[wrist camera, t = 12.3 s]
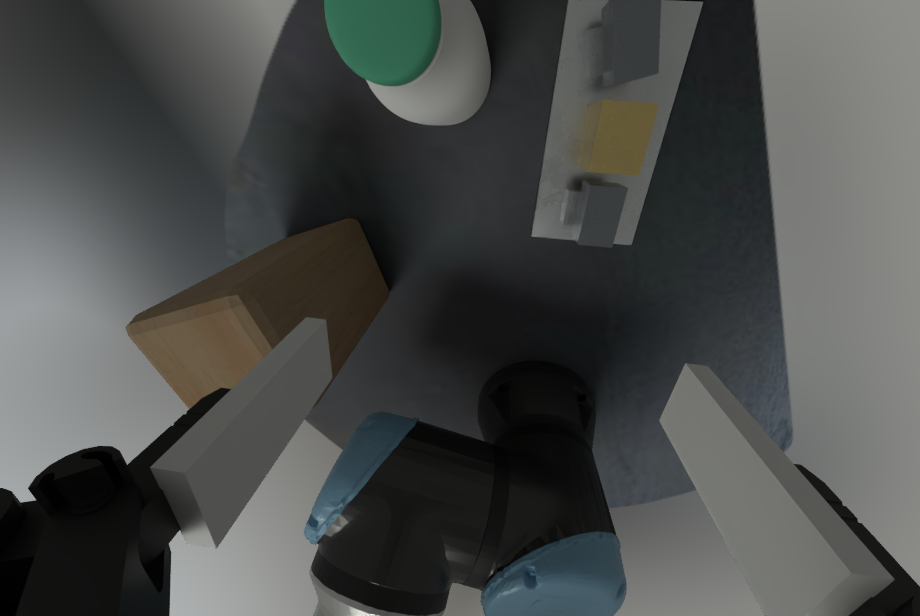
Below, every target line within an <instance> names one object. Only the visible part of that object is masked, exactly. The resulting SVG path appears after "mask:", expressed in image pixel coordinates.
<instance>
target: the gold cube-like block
mask: <svg viewBox="0 0 920 616" xmlns="http://www.w3.org/2000/svg"><path fill="white" fill-rule="evenodd" d="M659 104H660V103H651V102H634V101H618V100H600V101H596V102H592V103H589V105H588V110H587V115H586V120H585V125H584V130H583V135H582V140H581V145H580V150H579V155H578V160H577V165H576V166H578V167H580V168H582V169H583V170H585V171H587V172H595V173H608V174H622V175H636V176H639V175H640V171H641V168H642V164H643V161H644V157H645V154H646V150H647V146H648V143H649V139H650V136H651V132H652V129H653V125H654V121H655V118H656V114H657V111H658V107H659Z"/></svg>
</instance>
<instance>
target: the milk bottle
mask: <svg viewBox="0 0 920 616" xmlns="http://www.w3.org/2000/svg"><path fill="white" fill-rule="evenodd" d="M324 7H325V17H326V23H327V27H328V31H329V34H330V37H331V40H332V42H333V44H334V46H335V48H336V50H337V51H338V53H339V55H340V56H341V58H342V59H343V60H344V62H345V63H346V64H347V65H348V66H349V67H350V68H351V69H352V70H353V71H354V72H355V73H357V74H358V75H359V76H361V77H363V78H364V79H366V81H367V83H368V85H369V86H370V88H371V90H372V91H373V93H374V94H375V95H376V97H377V98H378V99H379V100H380V102H381V103H382V104H383V105H384V106H386V107H387V108H388V109H389V110H390V111H392V112H393V113H395V114H396V115H398V116H399V117H401V118H403V119H405V120H408V121H411V122H415V123H419V124H424V125H454V124H458V123H461V122H463V121H465V120H467V119H469V118H470V117H471V116H473V115H474V114H475V113H476V112H477V111H478V110H479V108H480V107H481V105H482V104H483V102H484V100H485V98H486V96H487V93H488V90H489V86H490V80H491V64H490V57H489V52H488V47H487V42H486V38H485V34H484V31H483V27H482V24H481V22H480V19H479V17H478V14H477V12H476V10H475V8H474V6H473V4H472V2H471V1H470V0H325V1H324Z"/></svg>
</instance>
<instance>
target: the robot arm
mask: <svg viewBox="0 0 920 616" xmlns="http://www.w3.org/2000/svg"><path fill="white" fill-rule="evenodd" d="M331 379H332V369H331V360H330V351H329V342H328V333H327V325H326V320H325V319H317V318H309V317H306V318H305V319H304V320H303V321H302V322H301V323H300V324H299V325H298V326H297V327H295V328H294V329H293V330H292V331H291V332H290V333H289V334H288V335H287V336H286V337H285V338H284V339H283V340H282V341H281V342H280V343H279V344H278V345H277V346H276V347H275V348H274V349H273V350H272V351H271V352H269V353H268V354H267V355H266V356H265V357H264V358H263V359H262V360H261V361H260V362H259V363H258V364H257V365H256V366H255V367H254V368H253V369H252V370H251V371H250V372H249V373H248V374H247V375H246V376H245V377H243V378H242V379H241V380H240V381H239V382H238V383H237V384H236V385H235V386H234V387H233V388H232V389H228V388H219V389H218V390H216V391H214V392H212V393H210V394H208V395H207V396H205V397H203V398H201V399H200V400H199V401H198V402H197V403H196V404H195V405H194V406H192V407H191V408H190V409H189V410H188V411H187V413H186V415H182V416H181V417H180V418H179V419H178V420H177V421H176V422H175V423H174V425H173V426H170V427H169V428H168V429H167V430H166V431H165V432H164V433H162V434H161V435H160V436H159V437H158V438H157V439H156V440H155V441H153V443H151V444H150V445H149V446H148V447H147V448H146V449H145V450H143V451H142V452H141V453H140V454H139V455H138V456H137V457H136V458H134V459H133V460H132V461H131V462H130V463H129V464H128V465H127V464H126V462H125V460H124V458H123V456H122V454H121V453H120V451H119V450H117V449H116V448H114V447H111V446H97V447H92V448H88V449H83V450H80V451H78V452H76V453H73V454H70V455H68V456H65V457H64V458H62V459H60V460H58V461H57V462H55V463H53V464H51V465H50V466H48V467H47V468H46V469H45V470H44V471H42V472H41V473H40V474H39V475H38V476H36V478H35V479H34V481H33V482H32V483H31V485H30V486H29V488H28V489H29V490H30V492H31V493H32V494H33V496H34V497H35V498H36V501H29V502H23V503H20V502H19V500H18V499H17V498H16V496H15V495H14V494H13V493H12V491H9V490H6V489H3V488H0V616H169V608H170V572H171V551H170V547H169V542H170V541H171V540H172V539H173V537H174V536H175V535H176V533H177V532H178V531H179V530H180V531H181V533H182V535H183V537H184V539H185V541H186V543H187V544H191V545H198V546H204V547H210V548H217V547H218V546H219V544H220V543H221V541H222V540H223V538H224V537H225V535H226V534H227V532H228V531H229V529H230V528H231V527H232V525H233V524H234V522H235V521H236V519H237V518H238V516H239V515H240V513H241V512H242V510H243V509H244V507H245V506H246V504H247V503H248V501H249V500H250V499H251V497H252V496H253V494H254V493H255V491H256V490H257V488H258V487H259V485H260V484H261V482H262V481H263V479H264V478H265V476H266V475H267V473H268V472H269V471H270V469H271V468H272V466H273V465H274V463H275V462H276V460H277V459H278V457H279V456H280V454H281V453H282V451H283V450H284V449H285V447H286V446H287V444H288V443H289V441H290V440H291V438H292V437H293V435H294V434H295V432H296V431H297V429H298V428H299V426H300V425H301V423H302V422H303V420H304V419H305V418H306V416H307V415H308V413H309V412H310V410H311V409H312V407H313V406H314V404H315V403H316V401H317V400H318V398H319V397H320V396H321V394H322V393H323V391H324V390H325V388H326V387H327V385H328V384H329V382H330V381H331ZM659 421H660V423H661V425H662V427H663V429H664V431H665V433H666V434H667V436H668V438H669V440H670V442H671V444H672V445H673V447H674V449H675V451H676V453H677V455H678V456H679V458H680V460H681V462H682V464H683V466H684V467H685V469H686V471H687V473H688V475H689V477H690V478H691V480H692V482H693V484H694V486H695V488H696V489H697V491H698V493H699V495H700V497H701V499H702V500H703V502H704V504H705V506H706V508H707V510H708V512H709V513H710V515H711V517H712V519H713V521H714V522H715V524H716V526H717V528H718V530H719V532H720V534H721V535H722V537H723V539H724V541H725V543H726V545H727V546H728V548H729V550H730V552H731V554H732V556H733V557H734V559H735V561H736V563H737V565H738V566H739V568H740V570H741V572H742V574H743V576H744V577H745V580H746V581H747V583H748V585H749V587H750V589H751V591H752V592H753V594H754V596H755V598H756V600H757V602H758V603H759V605H760V607H761V609H762V611H763V612H764V614H765V616H920V586H919V585H917V583H916V582H915V581H914V580H913V579H912V578H911V577H910V576H909V574H907V572H906V571H905V570H904V569H903V568H902V567H901V566H900V565H899V564H898V562H897V561H896V560H895V559H894V558H893V557H892V556H891V555H890V554H889V553H888V552H887V551H886V549H885V548H884V547H883V546H882V545H881V544H880V543H879V542H878V541H877V540H876V538H875V537H874V536H873V535H872V534H871V533H870V532H869V531H868V530H867V529H866V528H865V527H864V525H862V523H858V521H857V518H856V517H855V516H854V515H853V513H852V512H851V511H850V510H849V509H848V508H847V507H846V506H843V505H842V501H841V500H840V499H839V498H838V497H837V496H836V495H835V494H834V493H833V492H832V491H831V489H829V487H828V486H827V485H826V484H825V483H824V482H823V481H821V480H820V479H819V478H817V477H816V476H815V475H814V474H812V473H811V472H809V471H808V470H807V469H806V468H804V467H803V466H802V465H797V464H793V463H792V462H791V461H790V459H788V457H787V456H786V455H785V454H784V453H783V451H782V450H781V449H780V448H779V447H778V446H777V445H776V443H775V442H774V441H773V440H772V439H771V438H770V437H769V435H768V434H767V433H766V432H765V431H764V430H763V429H762V427H761V426H760V425H759V424H758V423H757V422H756V421H755V419H754V418H753V417H752V416H751V415H750V414H749V413H748V411H747V410H746V409H745V408H744V407H743V406H742V405H741V403H740V402H739V401H738V400H737V399H736V398H735V397H734V395H733V394H732V393H731V392H730V391H729V390H728V389H727V388H726V386H725V385H724V384H723V383H722V382H721V381H720V380H719V378H718V377H717V376H716V375H715V374H714V373H713V372H712V370H711V369H710V368H709V367H708V366H703V365H695V364H687V363H685V365H684V367H683V370H682V372H681V374H680V376H679V378H678V381H677V383H676V385H675V387H674V389H673V391H672V394H671V396H670V398H669V400H668V402H667V405H666V407H665V409H664V411H663V413H662V416H661V418H660V420H659ZM478 422H479V426H480V429H481V432H482V435H483V438H484V441H481V440H478V439H475V438H472V437H469V436H465V435H462V434H459V433H456V432H452V431H449V430H446V429H443V428H440V427H436V426H433V425H430V424H427V423H424V422H420V421H419V419H418V418H413V419H411V418H407V417H403V416H399V415H395V414H391V413H387V412H377V413H374V414H371V415H370V416H368V417H367V418H366V419H365V420H364V421H363V422H362V423H361V424H360V425H359V426H358V428H357V429H356V430H355V432H354V433H353V435H352V436H351V438H350V439H349V441H348V443H347V444H346V446H345V447H344V449H343V451H342V453H341V454H340V456H339V458H338V459H337V461H336V463H335V465H334V467H333V468H332V470H331V472H330V474H329V476H328V477H327V479H326V481H325V483H324V485H323V487H322V489H321V491H320V493H319V495H318V497H317V499H316V502H315V504H314V506H313V508H312V513H311V515H310V517H309V520H308V521H307V523H306V526H305V531H304V534H305V537H306V538H307V539H308V540H310V543H311V544H319V547H318V550H317V552H316V555H315V558H314V560H313V563H312V566H311V569H310V577H311V580H312V582H313V585H314V587H315V590H316V592H317V595H318V604H317V607H316V610H315V612H314V615H313V616H442V615H443V613H444V611H445V608H446V604H447V599H448V594H449V590H450V587H451V585H452V583H459V584H462V585H466V586H469V587H473V588H476V589H479V590H481V591H482V593H481V603H482V606H483V610H484V614H485V616H613V615H614V614H615V613H616V612H617V611H618V610H619V609H620V607H621V605H622V603H623V601H624V599H625V595H626V578H625V574H624V569H623V564H622V559H621V554H620V542H619V540H618V537H617V536H616V533H615V529H614V526H613V522H612V519H611V516H610V512H609V509H608V505H607V502H606V498H605V495H604V491H603V488H602V484H601V481H600V477H599V474H598V471H597V467H596V464H595V460H594V456H593V453H592V445H593V438H594V430H595V422H596V411H595V406H594V402H593V399H592V396H591V393H590V391H589V389H588V387H587V385H586V384H585V383H584V381H583V380H582V379H581V378H580V377H579V376H577V375H576V374H575V373H573V372H572V371H570V370H568V369H566V368H564V367H562V366H559V365H555V364H551V363H546V362H525V363H519V364H515V365H512V366H509V367H507V368H504V369H503V370H501V371H499V372H497V373H496V374H495V375H493V376H492V377H491V378H490V379H489V380H488V381H487V382H486V384H485V385H484V387H483V388H482V390H481V393H480V396H479V401H478Z"/></svg>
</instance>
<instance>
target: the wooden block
mask: <svg viewBox="0 0 920 616" xmlns="http://www.w3.org/2000/svg"><path fill="white" fill-rule="evenodd" d="M388 297H389V290H388V287H387V285H386V283H385V280H384V278H383V276H382V274H381V271H380V269H379V267H378V264H377V262H376V260H375V257H374V255H373V253H372V251H371V248H370V246H369V244H368V241H367V239H366V237H365V234H364V232H363V230H362V228H361V225H360V223H359V222H358V221H357V220H356V219H351V218H347V219H343V220H340V221H337V222H334V223H331V224H328V225H325V226H321V227H318V228H315V229H312V230H309V231H306V232H303V233H300V234H296V235H293V236H290V237H287V238H284V239H282V240H280V241H278V242H276V243H275V244H273V245H271V246H269V247H267V248H265V249H263V250H261V251H259V252H257V253H255V254H253V255H251V256H249V257H248V258H246V259H244V260H242V261H240V262H238V263H236V264H234V265H232V266H230V267H228V268H226V269H224V270H222V271H221V272H219V273H217V274H215V275H213V276H211V277H209V278H208V279H205V280H203V281H201V282H199V283H197V284H195V285H194V286H192V287H190V288H188V289H186V290H184V291H182V292H180V293H178V294H176V295H174V296H172V297H171V298H168V299H166V300H165V301H163V302H161V303H159V304H157V305H155V306H153V307H151V308H149V309H147V310H145V311H143V312H141V313H139V314H138V315H136V316H135V317H134V318H133V320H132V321H131V322H130V323H129V324H128V325H127V326H126V330H127V333H128V336H129V337H130V338H131V339H132V341H133V342H134V343H135V344H136V345H137V347H138V348H139V349H140V350H141V351H142V353H143V354H144V355H145V356H146V358H147V359H148V360H149V361H150V362H151V364H152V365H153V366H154V367H155V368H156V370H157V371H158V372H159V373H160V374H161V375H162V377H163V378H164V379H165V380H166V382H167V383H168V384H169V385H170V386H171V388H172V389H173V390H174V391H175V392H176V394H177V395H178V396H179V397H180V398H181V400H182V401H183V402H184V403H185V404H186V406H187V407H188V408H189V409H190V408H191V407H192V406H194V405H195V404H196V403H197V402H198V401H199V400H200V399H201V398H203V397H205V396H207V395H208V394H210V393H212V392H214V391H216V390H218V389H219V388H228V389H232V388H233V387H234V386H235V385H236V384H237V383H238V382H239V381H240V380H241V379H242V378H243V377H245V376H246V375H247V374H248V373H249V372H250V371H251V370H252V369H253V368H254V367H255V366H256V365H257V364H258V363H259V362H260V361H261V360H262V359H263V358H264V357H265V356H266V355H267V354H268V353H269V352H271V351H272V350H273V349H274V348H275V347H276V346H277V345H278V344H279V343H280V342H281V341H282V340H283V339H284V338H285V337H286V336H287V335H288V334H289V333H290V332H291V331H292V330H293V329H294V328H295V327H297V326H298V325H299V324H300V323H301V322H302V321H303V320H304V319H305V318H306V317H309V318H317V319H325V320H326V325H327V333H328V342H329V351H330V360H331V369H332V379H331V381H330V382H329V384H328V385H327V387H326V388H325V390H324V391H323V393H322V394H321V396H320V397H319V398H318V400H317V401H316V403H315V404H314V406H316V405H317V404H318V402H319V401H320V399H321V398H322V396H323V395H324V393H325V392H326V390H327V389H328V387H329V386H330V384H331V383H332V381H333V380H334V378H335V377H336V375H337V374H338V372H339V371H340V369H341V368H342V366H343V365H344V363H345V362H346V360H347V359H348V357H349V356H350V354H351V353H352V351H353V350H354V348H355V347H356V345H357V344H358V342H359V341H360V339H361V337H362V336H363V334H364V333H365V331H366V330H367V328H368V327H369V325H370V324H371V322H372V321H373V319H374V318H375V316H376V315H377V313H378V312H379V310H380V309H381V307H382V306H383V304H384V303H385V301H386V300H387V298H388ZM314 406H313V407H314ZM313 407H312V408H313Z"/></svg>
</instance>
